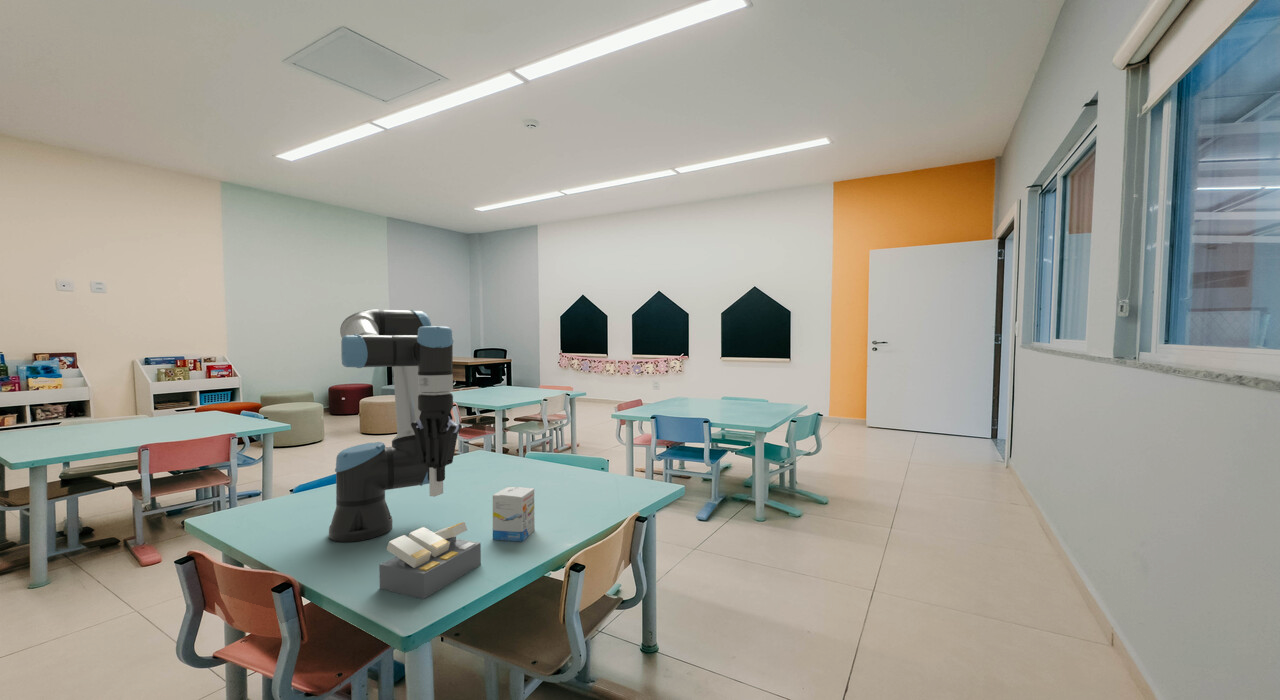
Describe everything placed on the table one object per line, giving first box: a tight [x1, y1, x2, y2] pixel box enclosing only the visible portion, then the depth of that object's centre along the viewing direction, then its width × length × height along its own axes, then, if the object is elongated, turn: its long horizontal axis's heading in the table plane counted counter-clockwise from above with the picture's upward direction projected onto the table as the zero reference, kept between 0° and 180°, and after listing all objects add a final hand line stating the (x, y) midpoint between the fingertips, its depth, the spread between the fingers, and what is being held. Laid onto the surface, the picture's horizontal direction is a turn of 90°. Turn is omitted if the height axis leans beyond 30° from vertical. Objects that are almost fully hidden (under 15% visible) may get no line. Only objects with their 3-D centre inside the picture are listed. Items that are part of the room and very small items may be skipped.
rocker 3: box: [433, 521, 468, 539], centre depth 117 cm, size 8×4×2 cm, turn 69°
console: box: [378, 536, 482, 600], centre depth 111 cm, size 12×17×6 cm
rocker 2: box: [407, 526, 450, 557], centre depth 112 cm, size 8×4×2 cm, turn 68°
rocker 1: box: [386, 534, 431, 568], centre depth 107 cm, size 8×4×2 cm, turn 68°
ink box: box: [492, 486, 536, 542], centre depth 135 cm, size 9×8×12 cm
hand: (436, 494), depth 118 cm, fingers closed
